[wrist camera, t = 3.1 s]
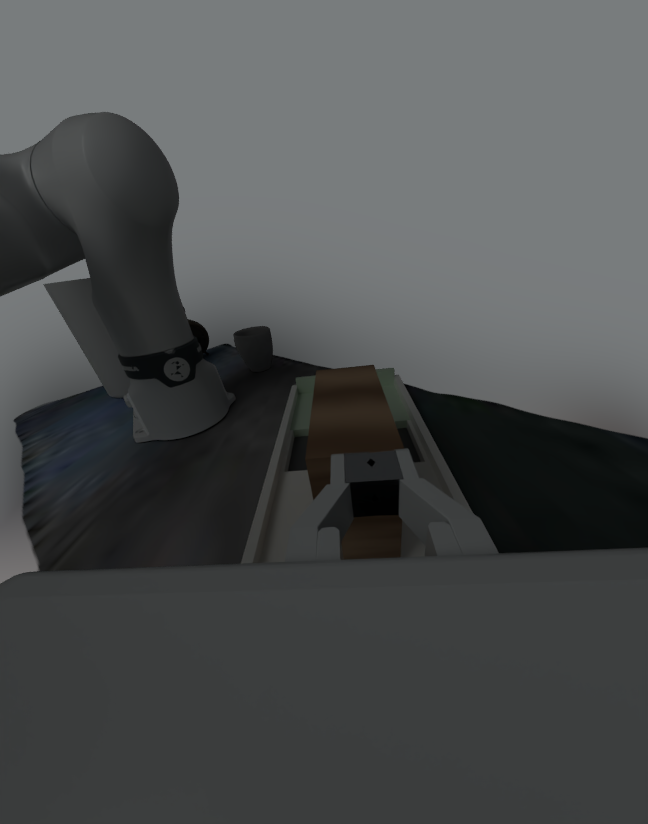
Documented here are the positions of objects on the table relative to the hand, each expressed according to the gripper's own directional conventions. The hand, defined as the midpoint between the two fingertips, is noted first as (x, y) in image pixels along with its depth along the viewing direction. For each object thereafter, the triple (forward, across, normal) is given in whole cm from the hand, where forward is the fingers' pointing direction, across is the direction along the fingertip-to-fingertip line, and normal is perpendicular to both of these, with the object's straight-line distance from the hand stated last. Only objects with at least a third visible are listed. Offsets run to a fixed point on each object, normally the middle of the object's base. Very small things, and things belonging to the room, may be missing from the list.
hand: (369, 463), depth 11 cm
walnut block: (+11, -1, -15) cm, 19 cm away
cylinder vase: (+52, -54, -17) cm, 77 cm away
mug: (+58, -24, -17) cm, 65 cm away
